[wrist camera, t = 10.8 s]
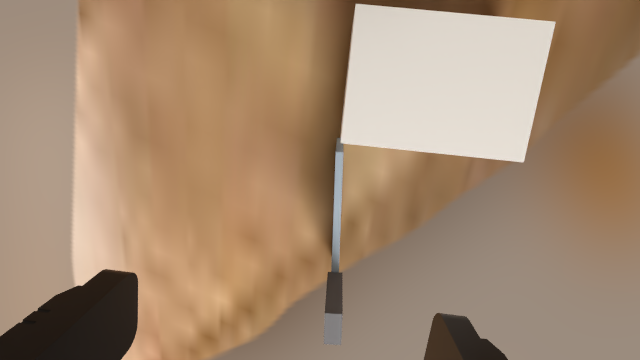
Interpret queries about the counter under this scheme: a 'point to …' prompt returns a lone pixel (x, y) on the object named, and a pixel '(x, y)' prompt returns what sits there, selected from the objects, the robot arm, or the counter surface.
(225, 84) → the counter surface
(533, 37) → the carton
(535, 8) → the counter surface
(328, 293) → the front flap
